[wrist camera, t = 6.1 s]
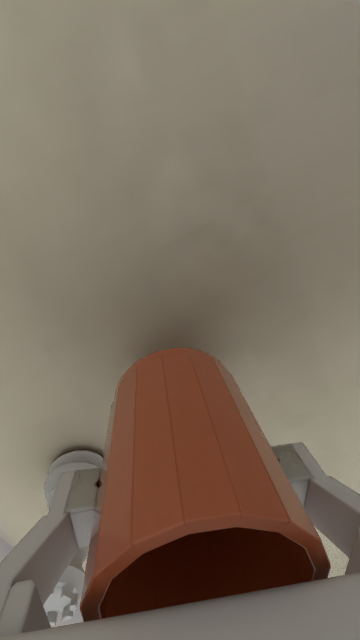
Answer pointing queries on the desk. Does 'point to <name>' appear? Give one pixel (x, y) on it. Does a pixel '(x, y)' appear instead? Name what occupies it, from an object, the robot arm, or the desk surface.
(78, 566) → the rook chess piece
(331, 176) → the desk surface
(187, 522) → the pot
